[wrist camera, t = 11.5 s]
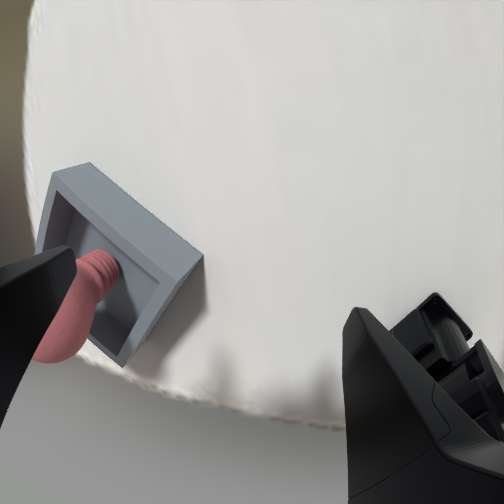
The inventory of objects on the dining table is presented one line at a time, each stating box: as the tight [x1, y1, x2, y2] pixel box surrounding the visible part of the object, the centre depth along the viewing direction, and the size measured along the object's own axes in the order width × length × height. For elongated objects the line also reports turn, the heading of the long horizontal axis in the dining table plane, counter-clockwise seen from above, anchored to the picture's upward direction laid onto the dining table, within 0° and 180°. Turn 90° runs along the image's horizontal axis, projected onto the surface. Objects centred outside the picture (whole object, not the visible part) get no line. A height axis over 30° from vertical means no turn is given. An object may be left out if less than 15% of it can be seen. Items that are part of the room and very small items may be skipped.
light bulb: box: [32, 249, 119, 363], centre depth 19 cm, size 7×7×12 cm
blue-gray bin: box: [34, 162, 203, 368], centre depth 24 cm, size 13×13×4 cm
